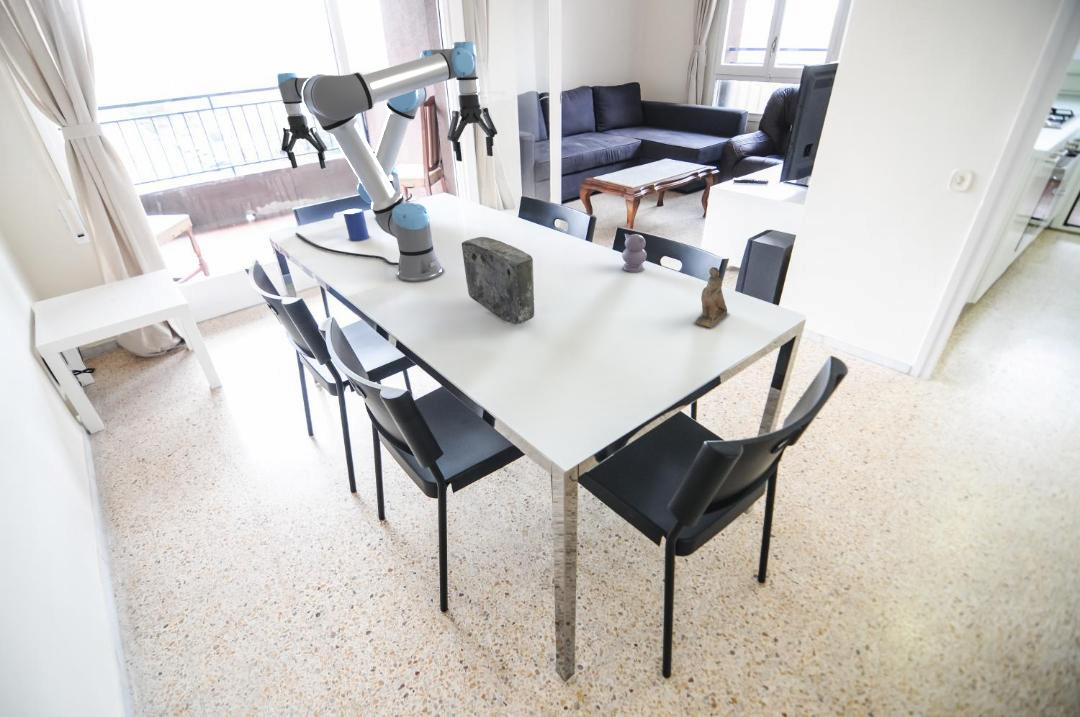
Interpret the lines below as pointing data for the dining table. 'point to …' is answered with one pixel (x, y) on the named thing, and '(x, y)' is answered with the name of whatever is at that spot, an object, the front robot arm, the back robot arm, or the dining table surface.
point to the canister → (356, 224)
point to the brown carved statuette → (712, 301)
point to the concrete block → (500, 278)
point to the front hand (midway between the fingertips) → (475, 158)
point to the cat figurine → (634, 253)
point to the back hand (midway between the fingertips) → (309, 168)
